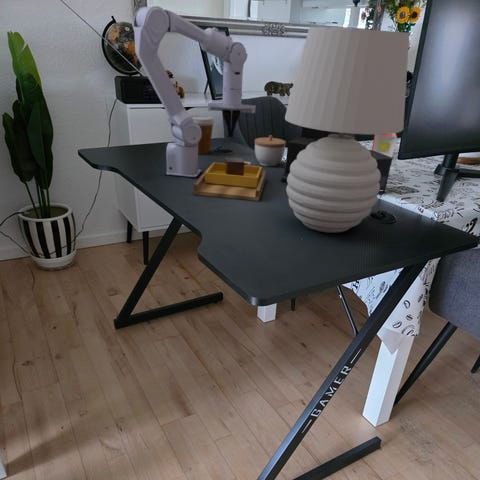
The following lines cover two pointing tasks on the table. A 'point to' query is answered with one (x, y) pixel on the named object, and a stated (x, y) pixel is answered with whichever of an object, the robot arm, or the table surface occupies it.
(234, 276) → the table surface
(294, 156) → the bookend
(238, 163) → the block
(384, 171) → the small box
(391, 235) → the table surface
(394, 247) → the table surface
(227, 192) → the board
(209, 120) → the disposable coffee cup
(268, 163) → the trinket box
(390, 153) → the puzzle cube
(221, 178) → the tray
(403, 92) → the table lamp
